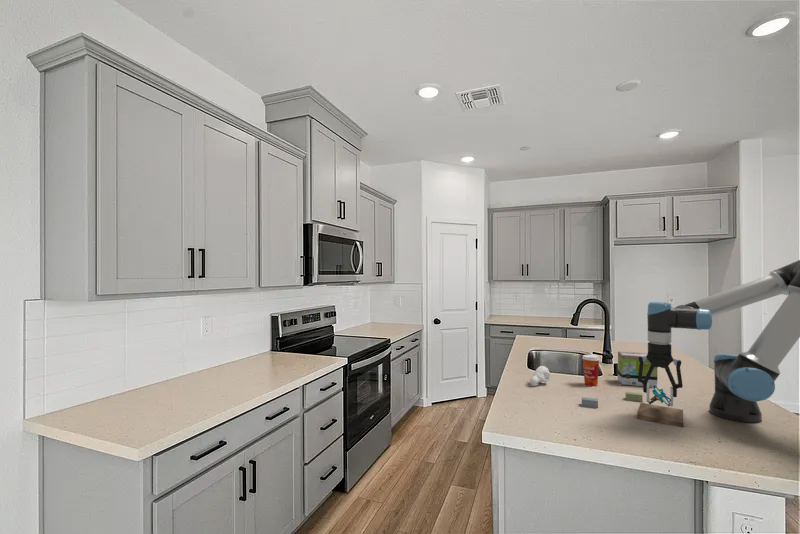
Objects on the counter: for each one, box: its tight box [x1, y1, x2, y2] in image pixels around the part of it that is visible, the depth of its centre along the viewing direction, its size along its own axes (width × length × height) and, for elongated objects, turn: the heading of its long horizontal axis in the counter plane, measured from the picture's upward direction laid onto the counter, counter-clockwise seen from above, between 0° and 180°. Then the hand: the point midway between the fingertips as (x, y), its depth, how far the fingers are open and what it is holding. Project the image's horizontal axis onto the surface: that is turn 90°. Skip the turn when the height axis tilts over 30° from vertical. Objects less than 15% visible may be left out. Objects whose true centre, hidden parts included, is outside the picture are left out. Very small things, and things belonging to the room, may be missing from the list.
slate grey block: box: [581, 396, 599, 409], centre depth 159 cm, size 6×3×3 cm, turn 64°
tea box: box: [617, 350, 658, 388], centre depth 191 cm, size 15×10×15 cm, turn 73°
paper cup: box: [581, 354, 600, 387], centre depth 189 cm, size 8×8×14 cm
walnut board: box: [636, 402, 684, 428], centre depth 148 cm, size 14×16×2 cm
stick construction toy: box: [648, 386, 672, 408], centre depth 149 cm, size 12×7×8 cm
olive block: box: [624, 391, 643, 403], centre depth 167 cm, size 6×3×3 cm, turn 64°
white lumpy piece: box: [529, 365, 551, 387], centre depth 190 cm, size 6×8×12 cm
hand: (659, 403), depth 148 cm, fingers closed on stick construction toy, 7 cm apart
